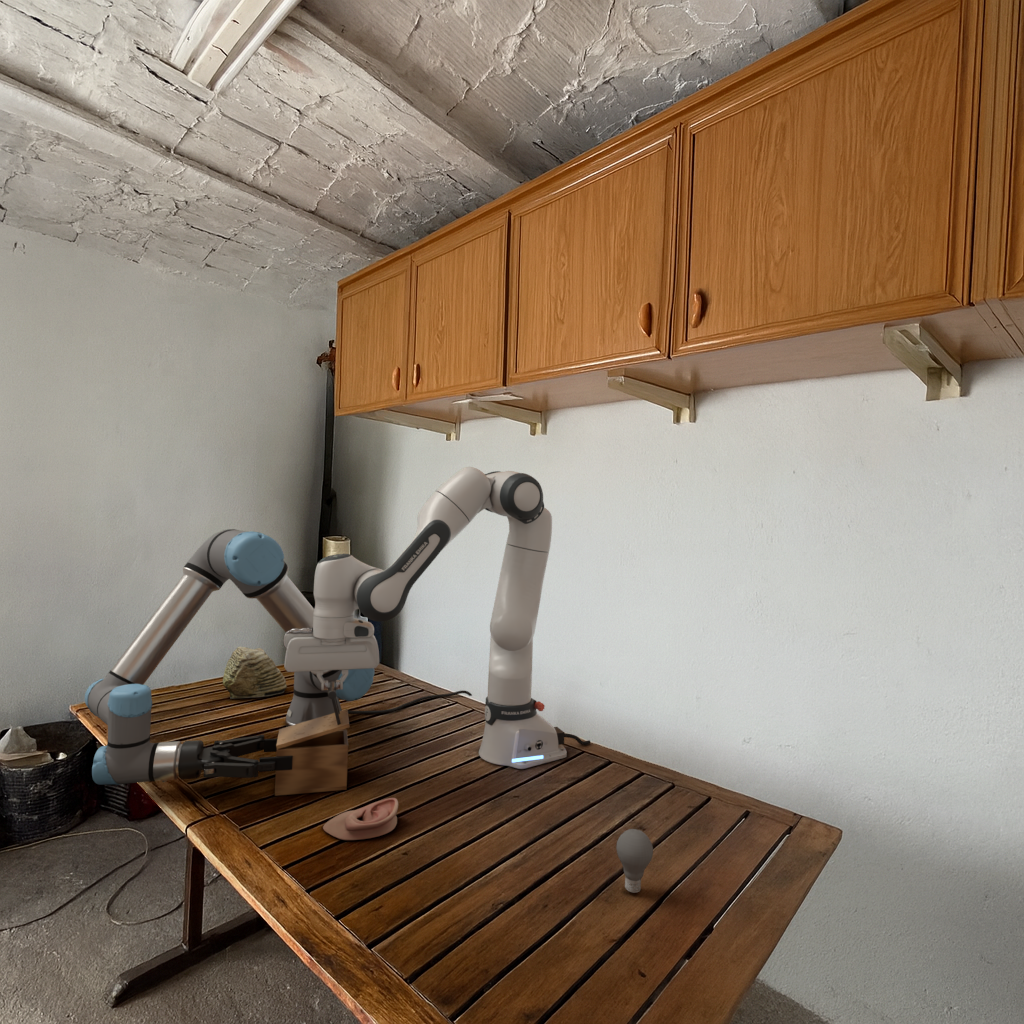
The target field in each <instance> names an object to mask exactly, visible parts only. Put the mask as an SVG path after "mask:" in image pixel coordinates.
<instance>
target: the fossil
mask: <svg viewBox="0 0 1024 1024" xmlns="http://www.w3.org/2000/svg"><path fill="white" fill-rule="evenodd" d="M222 676H223V677H222V685H223V687H224V688H225V690H226V691H228V693H229V698H230V699H250V698H264V697H271V696H275V695H281V694H284V693H285V691H286V689H287V687H288V686H287V680H286V678H285V676H284V674H283V673H282V672H281V669H279V668H278V667H277V665H276V663H275V662H274V660H273V659H272V658H271V657H270V656H269V655H268V654H267V653H266V652H265V650H264V649H263V648H260V647H258V648H251V647H247V646H246V647H245V646H238V647H237V648H236V649H235V650H233V651H232V653H231V656H230V657H229V659H228V660H227V663H226V666H225V668H224V671H223V675H222Z"/></svg>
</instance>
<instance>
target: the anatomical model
mask: <svg viewBox="0 0 1024 1024" xmlns="http://www.w3.org/2000/svg"><path fill="white" fill-rule="evenodd" d="M398 809H399V801H398V799H397V798H396V797H389V798H388V797H387V798H383V799H381V800H378V801H375V802H372V803H369V804H367V805H365V806H363V807H360V808H357V809H353V810H352V809H351V810H348V811H344V812H341V813H340V814H337V815H336V816H333V818H330V819H329V820H328V821H327V822H325V823H324V824H323V826H322V830H323V831H324V832H325V833H326V834H329V835H330V836H332V837H334V838H337V839H339V840H342V841H358V840H359V841H360V840H366V839H373V838H377V837H380V836H383V835H386V834H388V833H390V832H392V831H393V830H394V829H395V828H396V826H397V824H398V817H397V813H398Z"/></svg>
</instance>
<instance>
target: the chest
mask: <svg viewBox="0 0 1024 1024" xmlns="http://www.w3.org/2000/svg"><path fill="white" fill-rule="evenodd" d="M275 754H276V755H275V757H278V756H293V761H292V770H279V771H275V777H274V778H275V779H274V781H275V782H274V784H275V785H274V797H276V796H287V795H288V796H289V795H299V794H300V795H301V794H312V793H324V792H335V791H344V790H345V791H346V790H347V785H348V763H349V762H348V761H349V739H348V728H346V729H342V730H339V731H336V732H333V733H329V734H326V735H323V736H319V737H316V738H313V739H310V740H306V741H303V742H300V743H296V744H293V745H290V746H287V747H283V748H280V749H277V751H276V752H275Z"/></svg>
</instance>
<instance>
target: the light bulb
mask: <svg viewBox="0 0 1024 1024" xmlns="http://www.w3.org/2000/svg"><path fill="white" fill-rule="evenodd" d="M615 849H616V854H617V857H618V859H619V861H620V863H621V865H622V867H623V873H624V874H623V875H624V876H625V878H624V888H625V890H627V891H628V892H630V893H634V894H635V893H639V892H640V891H641V889H642V887H641V886H642V879H643V877H644V875H645V871H646V868H647V867H648V866H649V864H650V863H651V861H652V859H653V855H654V847H653V843H652V841H651V838H649V836H648V835H647V834H646V833H645V832H643V831H642V830H641V829H636V828H629V829H627V830H625V831H623V832H622V833H621V834H620V835H619V837H618V839H617V841H616V847H615Z"/></svg>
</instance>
